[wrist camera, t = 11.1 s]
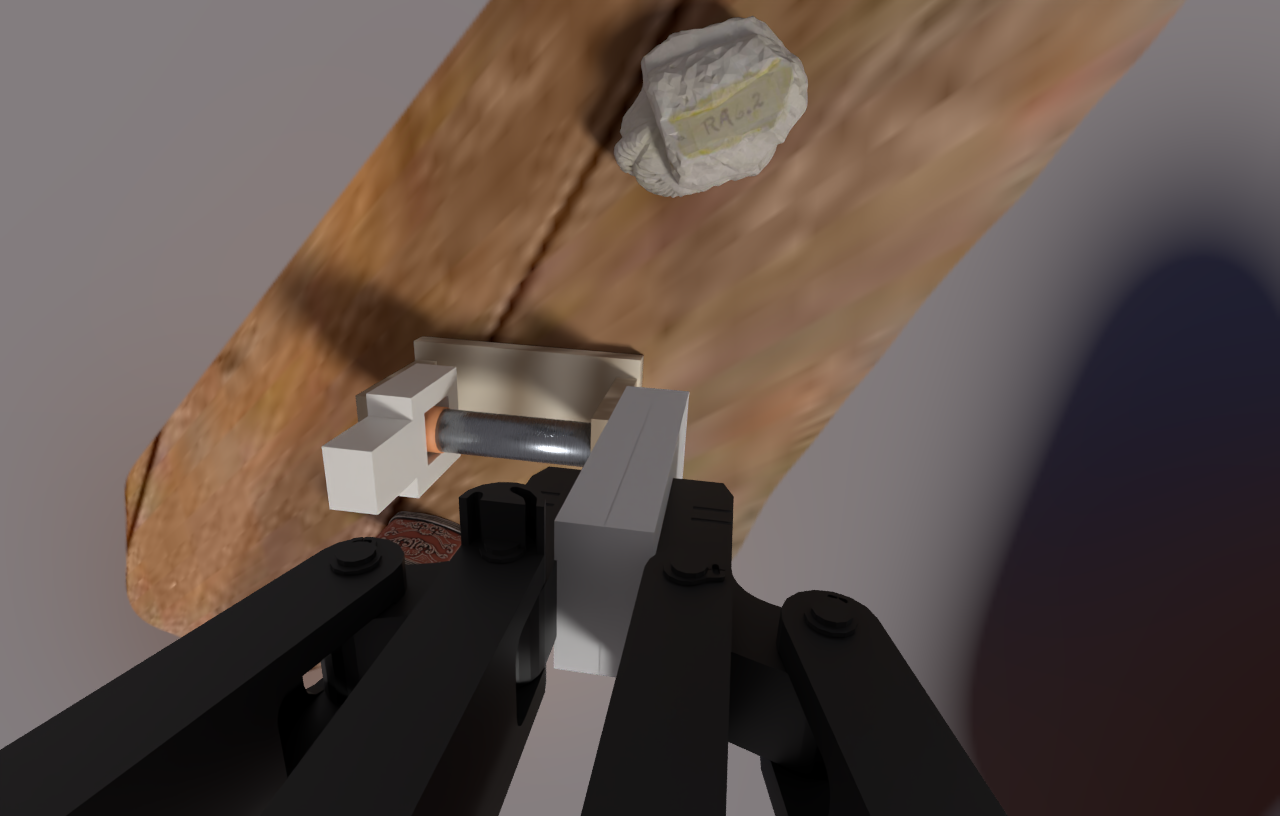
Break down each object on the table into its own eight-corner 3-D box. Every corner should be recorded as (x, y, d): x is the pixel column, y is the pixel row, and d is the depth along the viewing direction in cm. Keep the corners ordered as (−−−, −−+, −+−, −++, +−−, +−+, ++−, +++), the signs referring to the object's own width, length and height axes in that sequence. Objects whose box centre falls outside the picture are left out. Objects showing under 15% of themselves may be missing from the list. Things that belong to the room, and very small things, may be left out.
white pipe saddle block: (456, 366, 48) (368, 427, 37) (460, 455, 50) (380, 537, 39) (416, 363, 48) (318, 421, 37) (423, 451, 51) (332, 531, 40)
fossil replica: (594, 132, 47) (699, 229, 49) (567, 143, 39) (692, 256, 41) (713, -25, 42) (825, 90, 44) (707, -47, 34) (842, 93, 36)
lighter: (391, 536, 61) (327, 603, 51) (394, 504, 59) (329, 567, 50) (475, 560, 60) (426, 631, 51) (480, 528, 59) (431, 596, 50)
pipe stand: (643, 355, 51) (619, 399, 42) (638, 450, 54) (615, 512, 44) (422, 336, 54) (349, 374, 44) (428, 428, 56) (361, 483, 46)
